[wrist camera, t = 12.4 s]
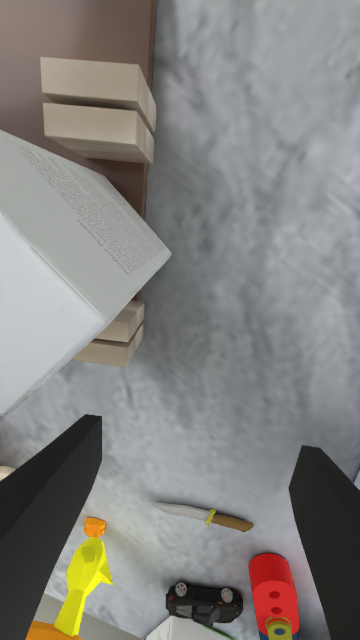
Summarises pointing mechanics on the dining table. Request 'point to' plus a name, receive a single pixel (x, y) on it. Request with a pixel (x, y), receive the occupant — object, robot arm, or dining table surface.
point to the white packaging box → (184, 631)
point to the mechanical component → (274, 598)
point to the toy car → (204, 604)
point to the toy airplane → (5, 471)
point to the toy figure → (77, 586)
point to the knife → (204, 515)
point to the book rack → (86, 107)
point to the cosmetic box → (61, 262)
